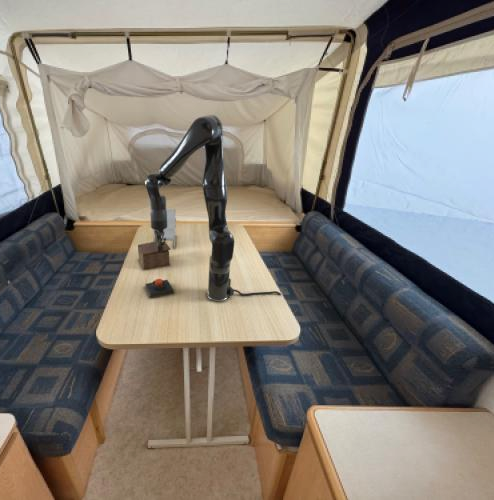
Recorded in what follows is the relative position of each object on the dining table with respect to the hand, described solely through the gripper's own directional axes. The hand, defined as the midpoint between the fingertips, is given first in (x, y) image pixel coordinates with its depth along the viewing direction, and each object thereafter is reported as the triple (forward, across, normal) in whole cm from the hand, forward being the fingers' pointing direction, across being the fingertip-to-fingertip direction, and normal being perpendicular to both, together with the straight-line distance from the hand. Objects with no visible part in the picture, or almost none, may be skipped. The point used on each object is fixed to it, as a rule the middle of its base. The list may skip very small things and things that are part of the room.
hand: (160, 252), depth 128 cm
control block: (+16, -9, +4) cm, 18 cm away
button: (+12, -9, +4) cm, 15 cm away
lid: (+7, +19, -1) cm, 21 cm away
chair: (+16, +46, -15) cm, 51 cm away
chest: (+16, +20, -1) cm, 25 cm away
